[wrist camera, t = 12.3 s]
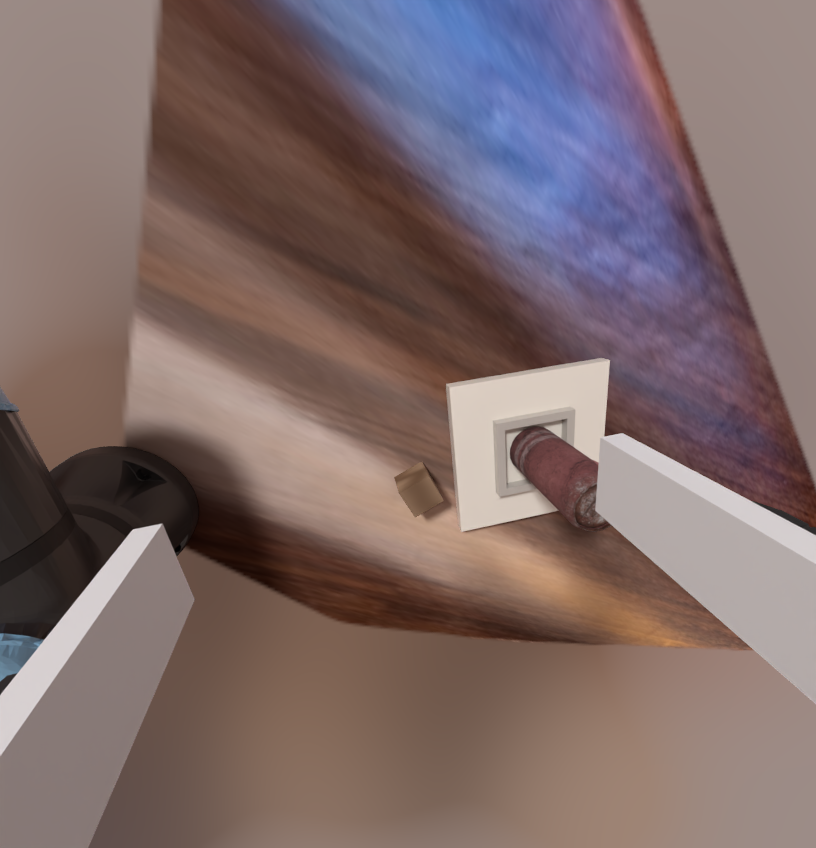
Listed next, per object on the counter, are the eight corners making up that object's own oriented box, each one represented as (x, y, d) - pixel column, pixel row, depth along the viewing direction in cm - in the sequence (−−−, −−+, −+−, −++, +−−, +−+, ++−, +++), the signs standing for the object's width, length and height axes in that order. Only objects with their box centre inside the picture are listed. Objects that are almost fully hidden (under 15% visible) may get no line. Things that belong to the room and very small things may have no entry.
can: (560, 426, 48) (643, 479, 35) (544, 471, 50) (617, 537, 37) (516, 419, 47) (586, 472, 34) (502, 466, 49) (563, 533, 36)
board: (457, 525, 53) (464, 537, 50) (445, 384, 45) (452, 390, 43) (592, 496, 55) (604, 506, 53) (601, 357, 48) (616, 362, 45)
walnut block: (409, 500, 50) (415, 517, 46) (394, 477, 48) (399, 493, 45) (436, 484, 50) (444, 500, 46) (421, 461, 48) (429, 476, 45)
